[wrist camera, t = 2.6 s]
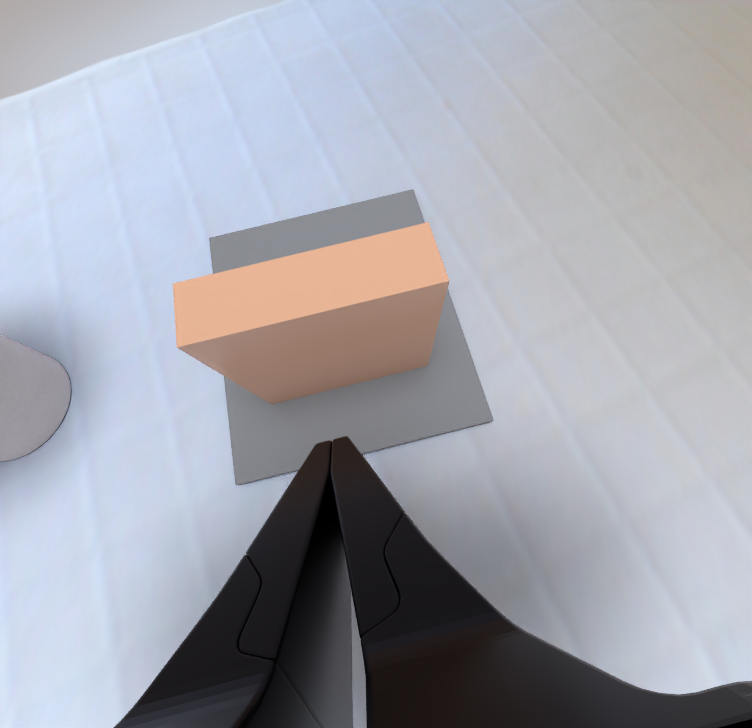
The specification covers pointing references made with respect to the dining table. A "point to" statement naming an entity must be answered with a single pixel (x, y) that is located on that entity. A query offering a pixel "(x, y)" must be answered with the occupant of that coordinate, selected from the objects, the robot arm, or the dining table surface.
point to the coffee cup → (29, 398)
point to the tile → (318, 315)
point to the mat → (357, 401)
